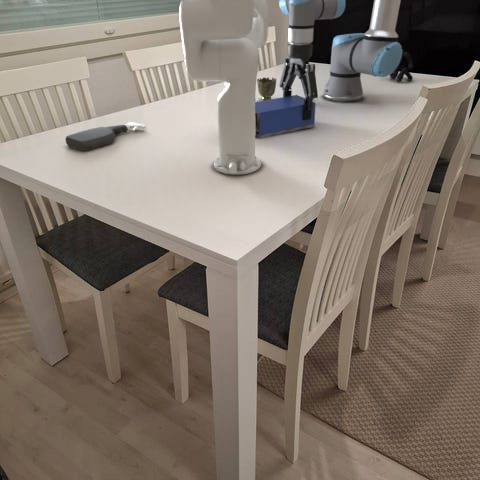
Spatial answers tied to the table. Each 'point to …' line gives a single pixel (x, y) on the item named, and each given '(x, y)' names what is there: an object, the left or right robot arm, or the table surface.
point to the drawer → (256, 123)
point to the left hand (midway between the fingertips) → (237, 123)
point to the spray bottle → (99, 136)
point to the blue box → (282, 115)
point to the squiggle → (403, 68)
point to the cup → (266, 87)
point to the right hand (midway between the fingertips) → (296, 114)
